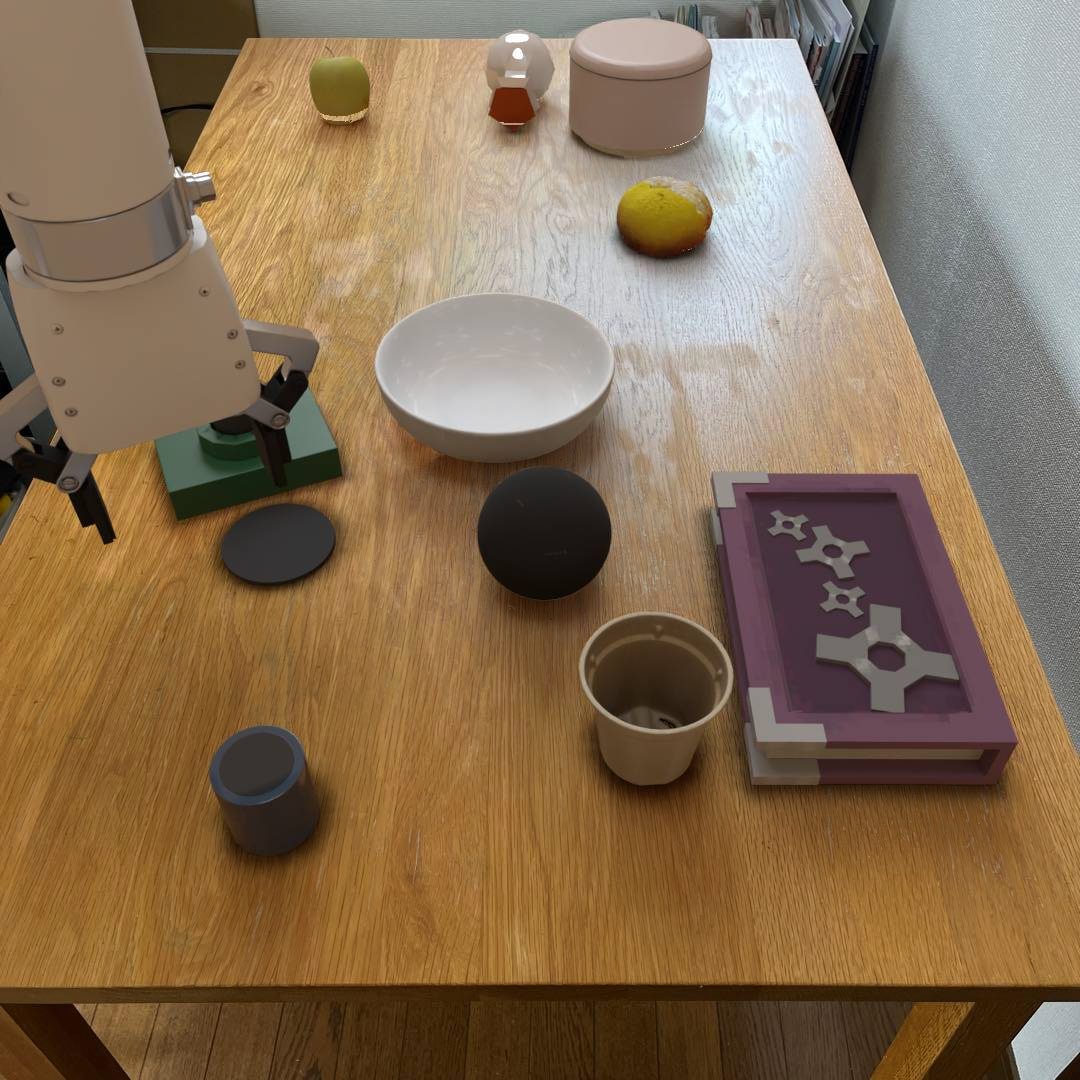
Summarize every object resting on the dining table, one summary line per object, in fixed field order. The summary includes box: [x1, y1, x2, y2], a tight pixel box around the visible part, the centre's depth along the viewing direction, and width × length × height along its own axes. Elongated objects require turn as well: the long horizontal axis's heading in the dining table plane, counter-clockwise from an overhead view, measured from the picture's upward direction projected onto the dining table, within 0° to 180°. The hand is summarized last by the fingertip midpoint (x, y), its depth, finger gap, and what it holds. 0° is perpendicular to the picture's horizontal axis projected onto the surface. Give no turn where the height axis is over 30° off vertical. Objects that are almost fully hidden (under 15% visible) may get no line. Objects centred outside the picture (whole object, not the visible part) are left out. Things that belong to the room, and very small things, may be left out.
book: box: [709, 470, 1019, 786], centre depth 75 cm, size 25×16×5 cm, turn 0°
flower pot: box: [578, 610, 734, 787], centre depth 67 cm, size 9×9×9 cm
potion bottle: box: [483, 28, 556, 133], centre depth 140 cm, size 9×10×15 cm
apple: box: [308, 45, 371, 126], centre depth 138 cm, size 8×8×10 cm
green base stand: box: [153, 384, 344, 522], centre depth 89 cm, size 14×10×5 cm
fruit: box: [616, 175, 714, 259], centre depth 117 cm, size 11×10×8 cm
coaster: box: [220, 502, 337, 587], centre depth 83 cm, size 9×9×1 cm
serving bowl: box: [373, 292, 616, 464], centre depth 93 cm, size 21×21×7 cm
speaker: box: [476, 465, 613, 602], centre depth 77 cm, size 10×10×10 cm
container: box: [568, 17, 713, 158], centre depth 134 cm, size 18×18×12 cm
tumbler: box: [208, 724, 321, 857], centre depth 64 cm, size 6×6×6 cm
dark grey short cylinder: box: [213, 412, 253, 436], centre depth 87 cm, size 4×4×2 cm
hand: (192, 499), depth 59 cm, fingers open, 9 cm apart
